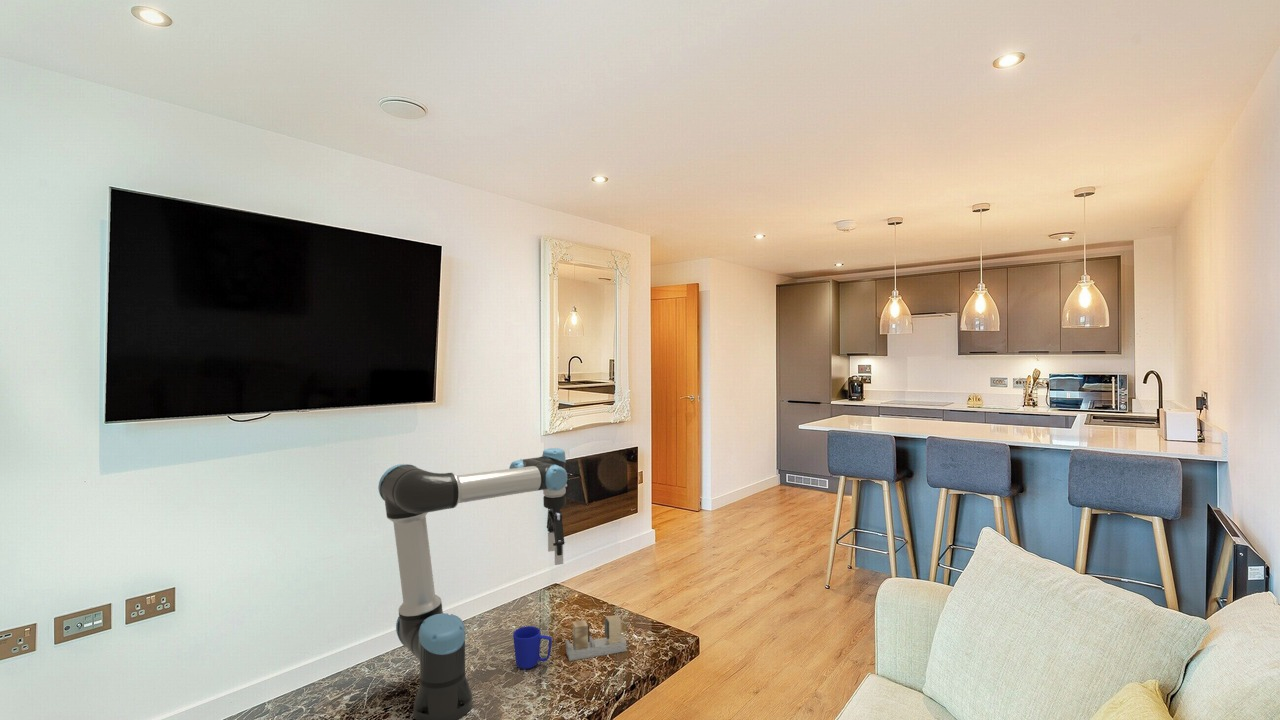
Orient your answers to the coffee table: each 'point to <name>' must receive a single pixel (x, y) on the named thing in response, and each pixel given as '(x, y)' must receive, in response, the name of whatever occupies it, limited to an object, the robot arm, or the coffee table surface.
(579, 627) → the tan cardboard carton
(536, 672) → the coffee table surface
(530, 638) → the mug
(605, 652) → the rail
